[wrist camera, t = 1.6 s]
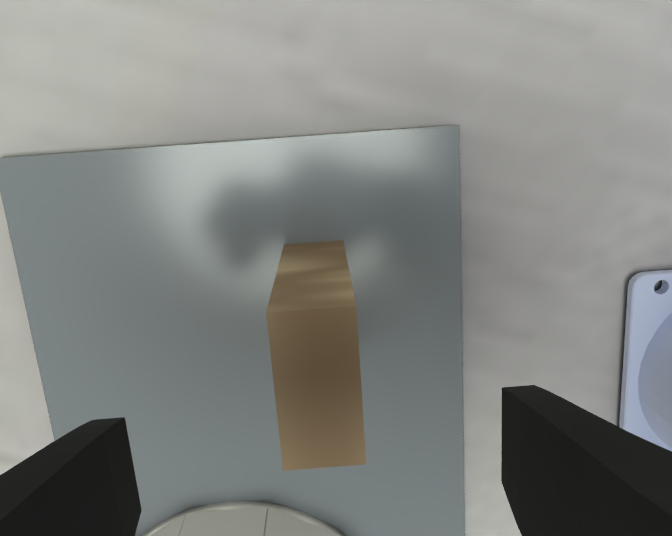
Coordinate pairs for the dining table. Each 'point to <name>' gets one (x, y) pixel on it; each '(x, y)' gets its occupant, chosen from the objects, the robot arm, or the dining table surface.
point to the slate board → (250, 313)
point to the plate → (242, 521)
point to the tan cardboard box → (316, 358)
